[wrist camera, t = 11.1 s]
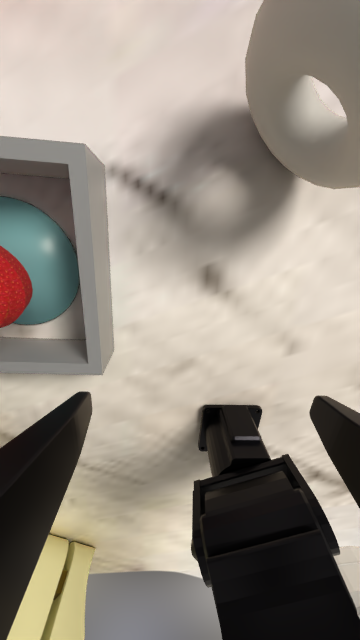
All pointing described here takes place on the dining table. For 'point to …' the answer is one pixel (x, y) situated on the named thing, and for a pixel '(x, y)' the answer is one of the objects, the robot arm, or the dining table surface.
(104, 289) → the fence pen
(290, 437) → the dining table surface
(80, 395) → the robot arm
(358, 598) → the dish
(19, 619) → the slatted curved stool
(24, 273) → the strawberry
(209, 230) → the dining table surface
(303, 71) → the donut
